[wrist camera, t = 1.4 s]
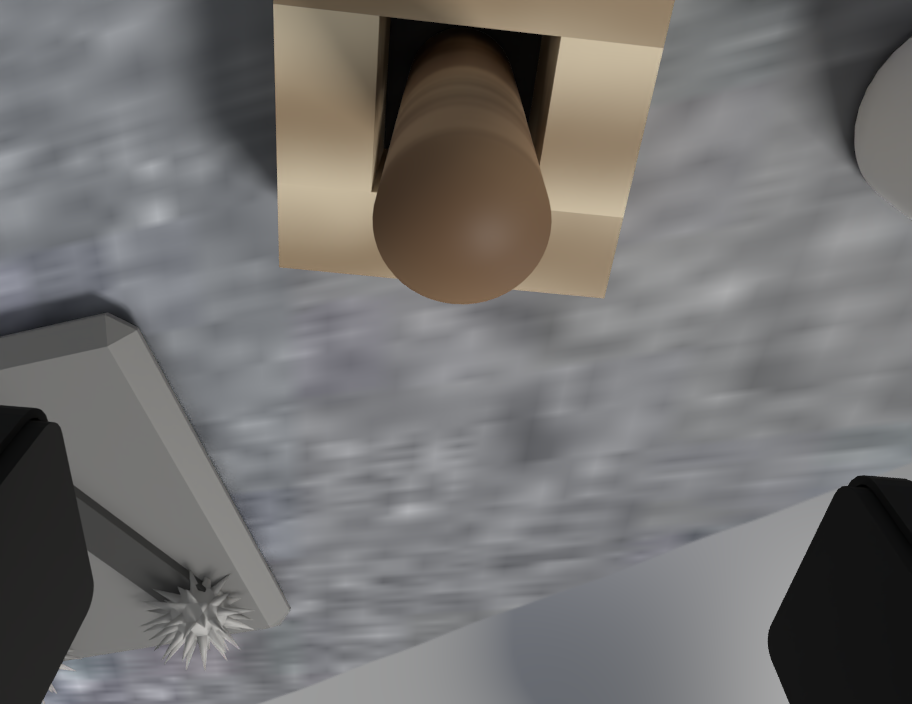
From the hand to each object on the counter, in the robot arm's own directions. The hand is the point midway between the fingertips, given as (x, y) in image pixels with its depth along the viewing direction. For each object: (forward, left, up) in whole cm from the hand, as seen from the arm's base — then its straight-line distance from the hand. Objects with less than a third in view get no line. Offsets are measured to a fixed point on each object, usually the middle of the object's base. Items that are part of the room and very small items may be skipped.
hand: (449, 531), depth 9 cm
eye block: (0, 0, -23) cm, 23 cm away
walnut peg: (0, 0, -23) cm, 23 cm away
